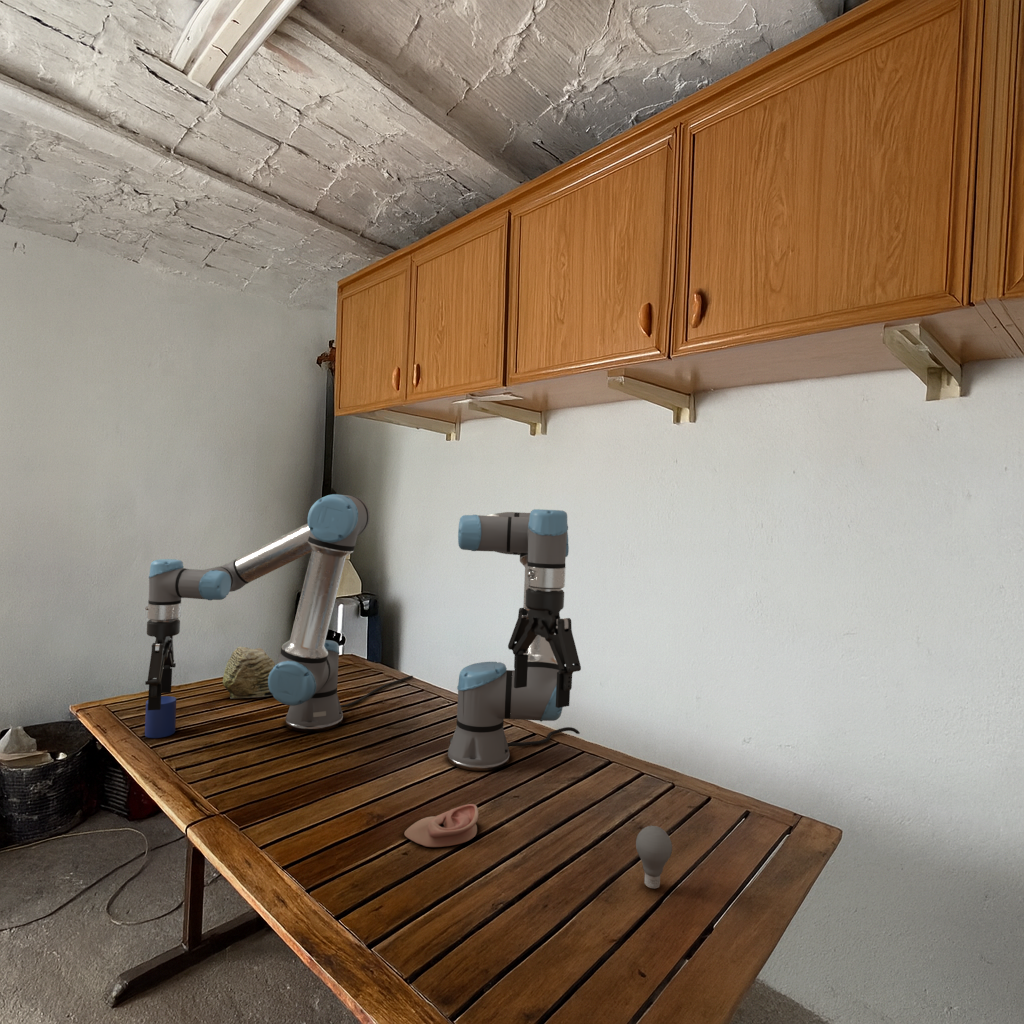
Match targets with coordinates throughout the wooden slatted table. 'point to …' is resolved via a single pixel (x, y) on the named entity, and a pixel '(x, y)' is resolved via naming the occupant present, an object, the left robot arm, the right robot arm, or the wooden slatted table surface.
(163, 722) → the canister
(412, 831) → the anatomical model
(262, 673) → the fossil
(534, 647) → the right robot arm
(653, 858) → the light bulb
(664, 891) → the wooden slatted table surface
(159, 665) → the left robot arm
